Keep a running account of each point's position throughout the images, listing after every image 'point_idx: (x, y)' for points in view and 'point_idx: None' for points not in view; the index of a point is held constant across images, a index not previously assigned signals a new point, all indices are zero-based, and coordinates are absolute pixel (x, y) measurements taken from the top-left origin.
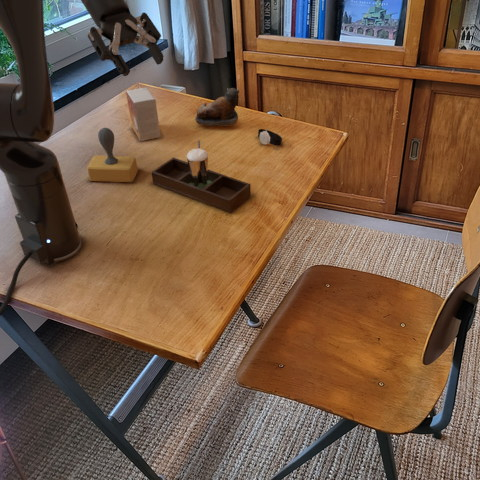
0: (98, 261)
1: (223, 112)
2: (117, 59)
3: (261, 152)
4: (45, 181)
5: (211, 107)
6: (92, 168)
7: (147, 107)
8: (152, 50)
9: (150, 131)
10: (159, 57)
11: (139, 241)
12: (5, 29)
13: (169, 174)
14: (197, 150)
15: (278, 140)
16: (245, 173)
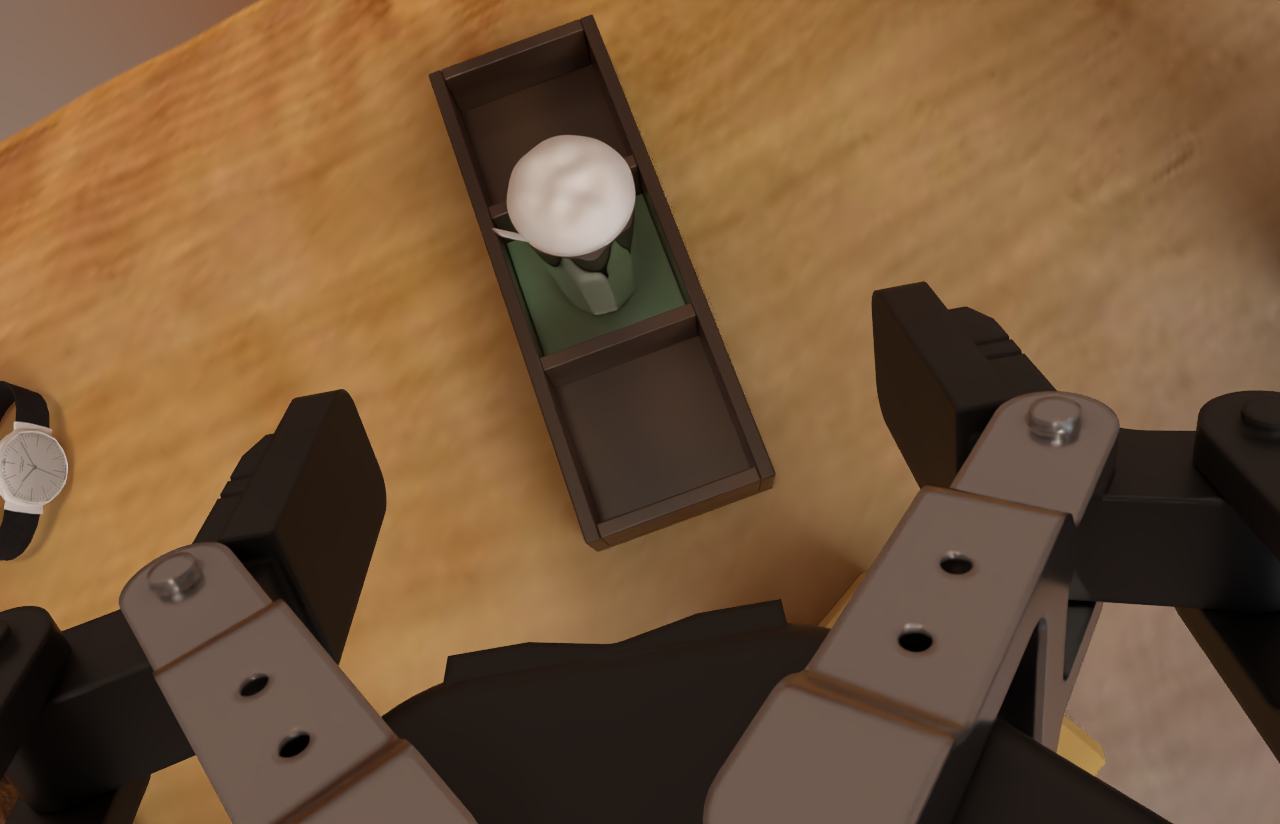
0: (1262, 74)
1: (11, 791)
2: (1022, 394)
3: (134, 414)
4: None
5: None
6: (1076, 727)
7: None
8: (320, 545)
9: None
10: (337, 402)
11: (1047, 99)
12: None
13: (660, 497)
14: (557, 186)
15: (5, 383)
16: (336, 290)
